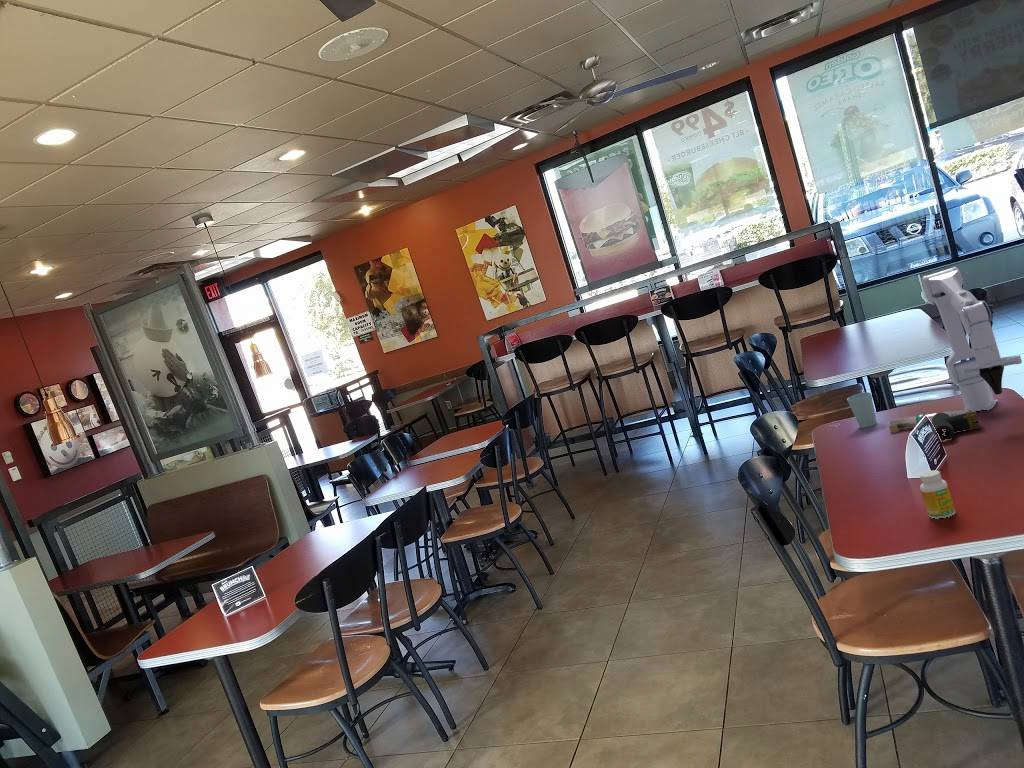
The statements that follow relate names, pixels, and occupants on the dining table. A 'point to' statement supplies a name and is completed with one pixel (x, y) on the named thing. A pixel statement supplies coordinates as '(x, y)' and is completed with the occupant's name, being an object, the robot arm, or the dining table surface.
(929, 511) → the supplement bottle
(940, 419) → the pipe connector
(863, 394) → the cup
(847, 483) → the dining table surface
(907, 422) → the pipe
